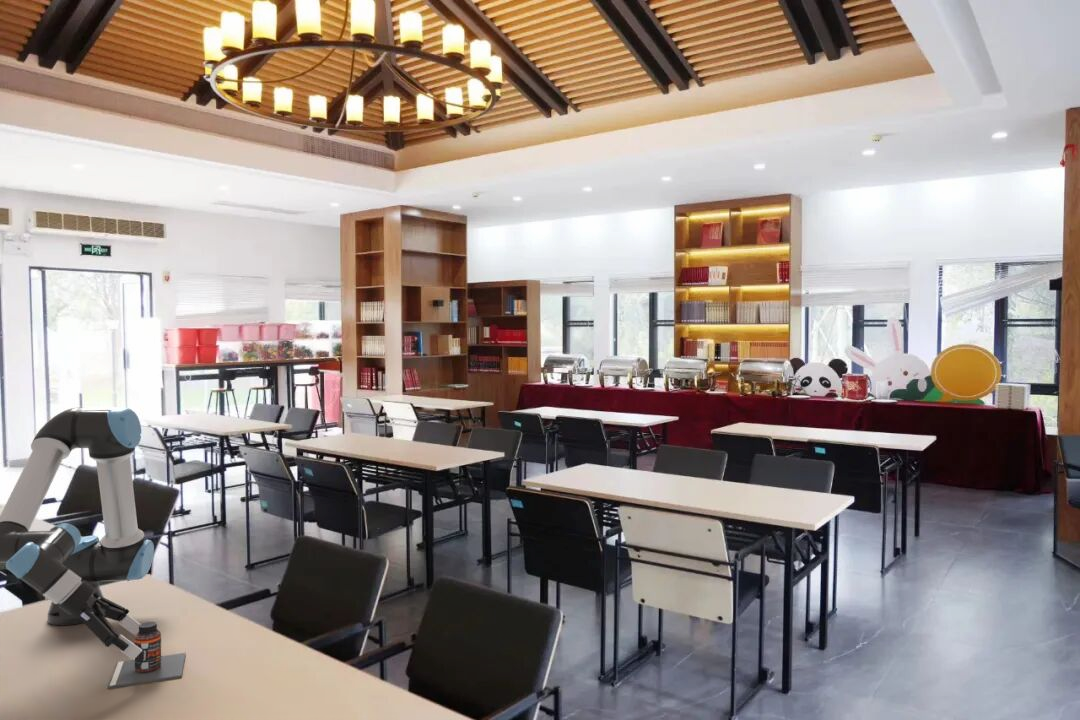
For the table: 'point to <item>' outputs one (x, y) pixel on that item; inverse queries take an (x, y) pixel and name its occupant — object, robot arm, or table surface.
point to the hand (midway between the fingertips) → (140, 644)
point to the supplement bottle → (148, 647)
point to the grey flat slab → (129, 676)
